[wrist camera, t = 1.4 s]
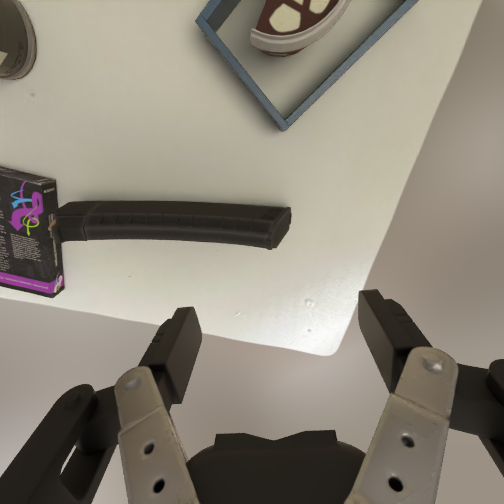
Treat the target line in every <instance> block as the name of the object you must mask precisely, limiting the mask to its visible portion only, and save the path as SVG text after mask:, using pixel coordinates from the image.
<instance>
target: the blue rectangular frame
mask: <svg viewBox="0 0 504 504" xmlns="http://www.w3.org/2000/svg"><path fill="white" fill-rule="evenodd" d="M417 1H418V0H405V1H404V2H403V3H402V4H401V5H400V6H399V7H398V8H397V9H396V10H395V11H394V12H393V13H392V14H391V15H390V16H389V17H388V18H387V19H386V20H385V21H384V22H383V23H382V24H381V25H380V26H379V27H378V28H377V29H376V30H375V31H374V32H373V33H372V34H371V35H370V36H369V37H368V38H367V39H366V40H365V41H364V42H363V43H362V44H361V45H360V46H359V47H358V48H357V49H356V50H355V51H354V52H353V53H352V54H351V55H350V56H349V57H348V58H347V59H346V60H345V61H344V62H343V63H342V64H341V65H340V66H339V67H338V68H337V69H336V70H335V71H334V72H333V73H332V74H331V75H330V76H329V77H328V78H327V79H326V80H325V81H324V82H323V83H322V84H321V85H320V86H319V87H318V88H317V89H316V90H315V91H314V92H313V93H312V94H311V95H310V96H309V97H308V98H307V99H306V100H305V101H304V102H303V103H302V104H301V105H300V106H299V107H298V108H297V109H296V110H295V111H294V112H293V113H292V114H291V115H290V116H289V117H288V118H287V119H286V120H284V119H283V117H282V116H281V115H280V114H279V112H278V111H277V110H276V109H275V107H274V106H273V105H272V104H271V102H270V101H269V100H268V99H267V97H266V96H265V95H264V93H263V92H262V91H261V90H260V88H259V87H258V86H257V85H256V83H255V82H254V81H253V80H252V78H251V77H250V76H249V75H248V73H247V72H246V71H245V69H244V68H243V67H242V66H241V64H240V63H239V62H238V61H237V59H236V58H235V57H234V56H233V54H232V53H231V52H230V51H229V49H228V48H227V47H226V46H225V44H224V43H223V42H222V40H221V39H220V38H219V37H218V35H217V34H216V31H217V30H218V29H219V27H220V26H221V25H222V24H223V22H224V21H225V20H226V18H227V17H228V16H229V15H230V13H231V12H232V11H233V9H234V8H235V7H236V6H237V4H238V3H239V2H240V0H210V1H209V2H208V4H207V5H206V6H205V8H204V9H203V10H202V12H201V13H200V15H199V16H198V17H197V19H196V20H195V22H196V23H197V25H198V26H199V28H200V29H201V31H202V32H203V33H204V35H205V36H206V37H207V39H208V40H209V41H210V42H211V44H212V45H213V46H214V47H215V49H216V50H217V51H218V52H219V54H220V55H221V56H222V57H223V58H224V60H225V61H226V62H227V63H228V65H229V66H230V67H231V68H232V70H233V71H234V72H235V73H236V75H237V76H238V77H239V78H240V80H241V81H242V82H243V83H244V85H245V86H246V87H247V88H248V89H249V91H250V92H251V93H252V94H253V96H254V97H255V98H256V99H257V101H258V102H259V103H260V104H261V106H262V107H263V108H264V109H265V111H266V112H267V113H268V114H269V115H270V117H271V118H272V119H273V120H274V122H275V123H276V124H277V125H278V127H279V128H280V129H281V130H282V131H283V132H284V131H285V130H287V129H288V128H289V126H291V125H292V124H293V123H294V122H295V121H296V120H297V119H298V118H299V117H300V116H301V115H302V114H303V113H304V112H305V111H306V110H307V109H308V108H309V107H310V106H311V105H312V104H313V103H314V102H315V101H316V100H317V99H318V98H319V97H320V96H321V95H322V94H323V93H324V92H325V91H326V90H327V89H328V88H329V87H331V86H332V85H333V84H334V83H335V82H336V81H337V80H338V79H339V78H340V77H341V76H342V75H343V74H344V73H345V72H346V71H347V70H348V69H349V68H350V67H351V66H352V65H353V64H354V63H355V62H356V61H357V60H358V59H359V58H360V57H361V56H362V55H363V54H364V53H365V52H366V51H367V50H368V49H369V48H370V47H371V46H372V45H373V44H374V43H376V42H377V41H378V40H379V39H380V38H381V37H382V36H383V35H384V34H385V33H386V32H387V31H388V30H389V29H390V28H391V27H392V26H393V25H394V24H395V23H396V22H397V21H398V20H399V19H400V18H401V17H402V16H403V15H404V14H405V13H406V12H407V11H408V10H409V9H410V8H411V7H412V6H413V5H414V4H415V3H416V2H417Z"/></svg>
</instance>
